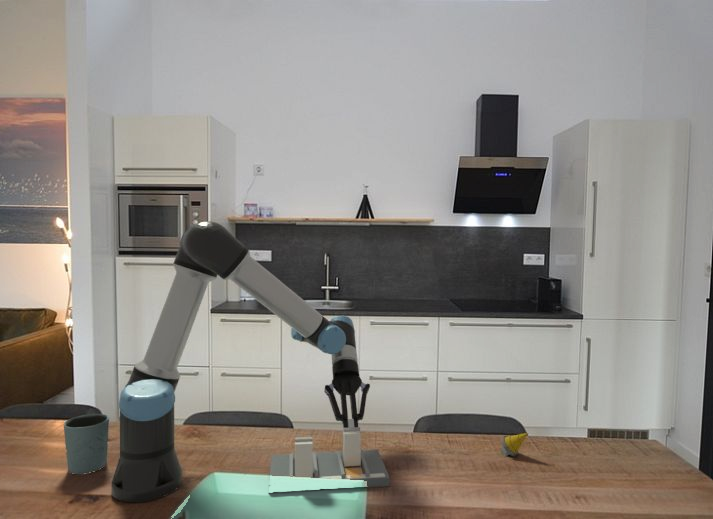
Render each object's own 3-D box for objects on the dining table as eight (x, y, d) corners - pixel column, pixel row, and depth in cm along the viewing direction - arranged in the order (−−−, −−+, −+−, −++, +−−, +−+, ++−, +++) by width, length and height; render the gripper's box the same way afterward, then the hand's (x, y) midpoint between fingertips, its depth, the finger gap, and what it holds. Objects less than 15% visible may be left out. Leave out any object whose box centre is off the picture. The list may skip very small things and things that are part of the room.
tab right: (344, 466, 117) (344, 431, 117) (342, 459, 121) (342, 425, 121) (360, 465, 117) (361, 430, 117) (358, 458, 121) (358, 424, 121)
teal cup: (89, 478, 115) (89, 429, 115) (53, 474, 117) (53, 425, 117) (118, 460, 125) (118, 414, 125) (84, 456, 127) (84, 411, 127)
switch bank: (268, 493, 108) (268, 479, 108) (271, 462, 124) (271, 450, 124) (389, 486, 112) (389, 472, 112) (377, 456, 128) (377, 444, 128)
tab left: (294, 478, 111) (295, 441, 110) (294, 470, 114) (294, 435, 114) (312, 477, 111) (312, 441, 111) (311, 469, 115) (312, 434, 115)
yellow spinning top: (505, 449, 135) (532, 430, 131) (509, 465, 130) (537, 446, 126) (491, 439, 133) (519, 420, 129) (495, 455, 129) (523, 435, 125)
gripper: (365, 370, 142) (375, 449, 126) (321, 372, 140) (326, 452, 124) (368, 357, 137) (379, 438, 121) (323, 358, 135) (328, 440, 119)
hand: (352, 445), depth 122 cm, fingers closed
